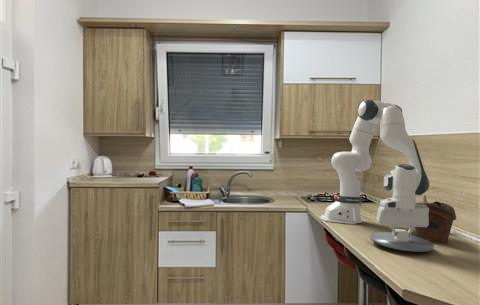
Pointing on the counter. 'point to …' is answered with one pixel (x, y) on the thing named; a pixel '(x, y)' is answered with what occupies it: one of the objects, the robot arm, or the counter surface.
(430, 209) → the brown tapered pot
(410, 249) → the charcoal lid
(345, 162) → the robot arm
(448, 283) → the counter surface
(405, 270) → the counter surface
